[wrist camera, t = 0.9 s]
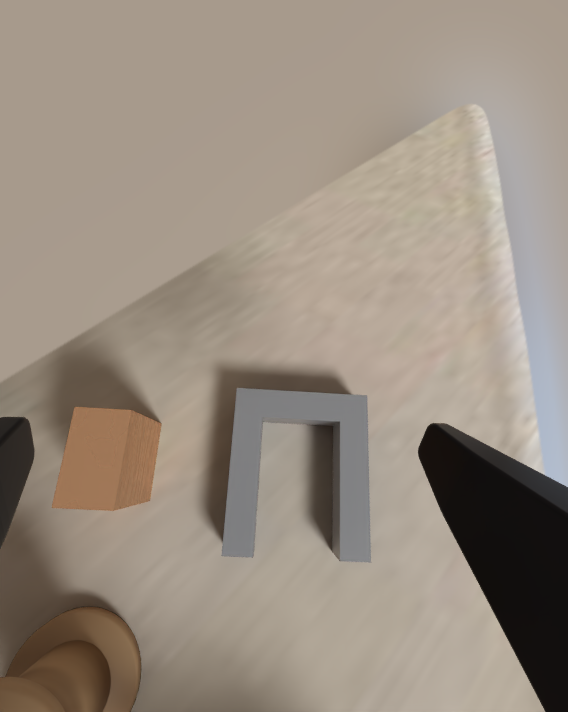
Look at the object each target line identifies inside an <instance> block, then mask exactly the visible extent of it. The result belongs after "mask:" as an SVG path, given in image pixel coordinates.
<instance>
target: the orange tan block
mask: <svg viewBox="0 0 568 712" xmlns="http://www.w3.org/2000/svg"><path fill="white" fill-rule="evenodd" d="M160 431H161V423H159V422H157V421H155V420H152V419H150V418H148V417H146V416H144V415H141V414H139V413H137V412H135V411H133V410H123V409H105V408H88V407H74V412H73V416H72V420H71V425H70V429H69V434H68V438H67V442H66V447H65V451H64V456H63V460H62V464H61V469H60V473H59V478H58V482H57V486H56V491H55V495H54V500H53V504H52V508H66V509H87V510H109V511H114V510H118V509H122V508H126V507H129V506H133V505H137V504H140V503H144V502H148V501H150V497H151V490H152V484H153V477H154V470H155V464H156V457H157V450H158V444H159V437H160Z"/></svg>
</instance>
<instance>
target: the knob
mask: <svg viewBox="0 0 568 712" xmlns="http://www.w3.org/2000/svg"><path fill="white" fill-rule="evenodd" d="M140 679H141V658H140V651H139V648H138V644H137V641H136V639H135V636H134V634H133V633H132V631H131V629H130V628H129V627H128V625H127V624H126V623H125V622H124V621H123V620H122V619H121V618H120V617H119V616H117V615H116V614H114V613H112V612H110V611H108V610H106V609H102V608H98V607H81V608H75V609H72V610H69V611H66V612H64V613H62V614H60V615H58V616H57V617H55V618H54V619H52V620H51V621H49V622H48V623H46V624H45V625H43V626H42V627H41V628H40V629H38V630H37V631H36V632H35V633H34V634H33V635H32V636H31V637H30V638H28V639H27V641H26V642H25V643H24V644H23V646H22V647H21V648H20V650H19V651H18V653H17V654H16V656H15V657H14V659H13V661H12V663H11V665H10V667H9V669H8V672H7V674H6V677H0V712H130V711H131V709H132V707H133V705H134V702H135V700H136V696H137V693H138V690H139V685H140Z"/></svg>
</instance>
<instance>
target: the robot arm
mask: <svg viewBox="0 0 568 712" xmlns="http://www.w3.org/2000/svg"><path fill="white" fill-rule="evenodd" d="M418 455H419V459H420V461H421V464H422V466H423V469H424V471H425V474H426V476H427V478H428V481H429V483H430V486H431V488H432V491H433V493H434V495H435V498H436V500H437V503H438V505H439V507H440V510H441V512H442V514H443V516H444V518H445V520H446V522H447V524H448V526H449V528H450V530H451V532H452V534H453V535H454V537H455V539H456V541H457V543H458V545H459V547H460V549H461V551H462V553H463V555H464V557H465V558H466V560H467V562H468V564H469V566H470V568H471V570H472V572H473V574H474V576H475V578H476V580H477V581H478V583H479V585H480V587H481V589H482V591H483V593H484V595H485V597H486V599H487V601H488V603H489V604H490V606H491V608H492V610H493V612H494V614H495V616H496V618H497V620H498V622H499V624H500V626H501V627H502V629H503V631H504V633H505V635H506V637H507V639H508V641H509V643H510V645H511V647H512V649H513V650H514V652H515V654H516V656H517V658H518V660H519V662H520V664H521V666H522V668H523V670H524V672H525V673H526V675H527V677H528V679H529V681H530V683H531V685H532V687H533V689H534V691H535V693H536V695H537V696H538V698H539V700H540V702H541V704H542V706H543V708H544V710H545V712H568V487H566V486H564V485H562V484H560V483H558V482H556V481H555V480H553V479H551V478H549V477H547V476H545V475H543V474H541V473H539V472H538V471H536V470H534V469H532V468H530V467H528V466H526V465H524V464H522V463H520V462H518V461H517V460H515V459H513V458H511V457H509V456H507V455H505V454H503V453H501V452H499V451H498V450H496V449H494V448H492V447H490V446H488V445H486V444H484V443H482V442H480V441H478V440H477V439H475V438H473V437H471V436H469V435H467V434H465V433H463V432H461V431H459V430H458V429H456V428H454V427H452V426H450V425H448V424H445V423H432V424H430V425H429V426H428V427H427V429H426V431H425V434H424V436H423V438H422V441H421V443H420V445H419V448H418ZM33 460H34V445H33V439H32V433H31V427H30V423H29V421H28V419H26V418H25V417H2V418H0V548H1V546H2V544H3V542H4V539H5V537H6V535H7V532H8V530H9V527H10V525H11V522H12V519H13V516H14V513H15V511H16V508H17V505H18V502H19V500H20V497H21V494H22V491H23V489H24V486H25V483H26V480H27V477H28V475H29V472H30V469H31V466H32V464H33Z"/></svg>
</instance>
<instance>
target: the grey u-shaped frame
mask: <svg viewBox="0 0 568 712" xmlns="http://www.w3.org/2000/svg"><path fill="white" fill-rule="evenodd" d="M263 422H271V423H289V424H307V425H325V426H333V499H332V552H333V553H334V555H335V556H336V557H337V558H338V559H339V560H340V561H350V562H371V546H370V501H369V456H368V411H367V395H350V394H333V393H316V392H299V391H282V390H265V389H249V388H237V392H236V403H235V414H234V425H233V436H232V447H231V458H230V469H229V480H228V491H227V502H226V513H225V524H224V535H223V546H222V556H231V557H253V555H254V545H255V530H256V515H257V500H258V485H259V470H260V455H261V440H262V424H263Z"/></svg>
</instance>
